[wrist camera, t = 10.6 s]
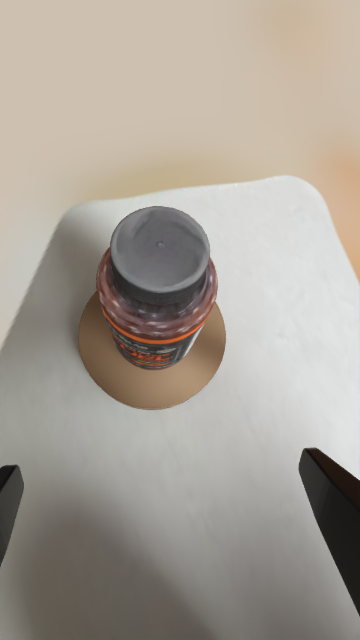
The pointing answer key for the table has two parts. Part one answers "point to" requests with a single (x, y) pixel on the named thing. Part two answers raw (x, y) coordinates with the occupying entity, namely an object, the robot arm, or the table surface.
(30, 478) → the table surface
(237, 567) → the table surface
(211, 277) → the supplement bottle
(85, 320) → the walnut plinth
